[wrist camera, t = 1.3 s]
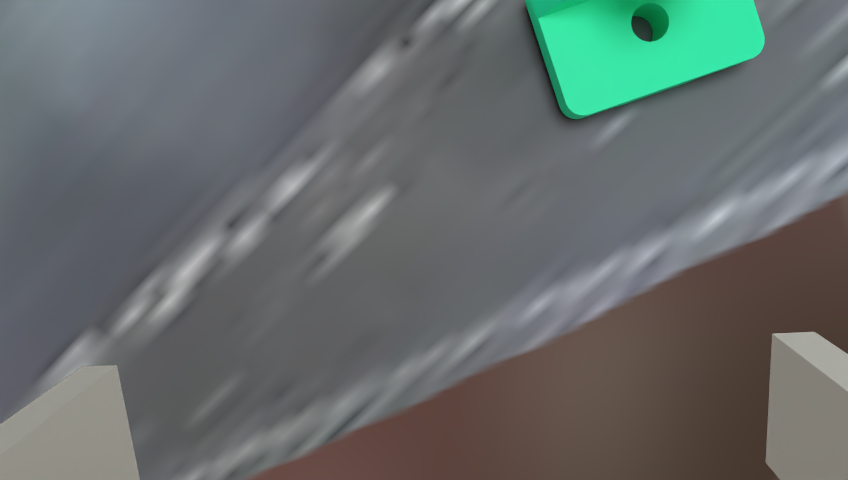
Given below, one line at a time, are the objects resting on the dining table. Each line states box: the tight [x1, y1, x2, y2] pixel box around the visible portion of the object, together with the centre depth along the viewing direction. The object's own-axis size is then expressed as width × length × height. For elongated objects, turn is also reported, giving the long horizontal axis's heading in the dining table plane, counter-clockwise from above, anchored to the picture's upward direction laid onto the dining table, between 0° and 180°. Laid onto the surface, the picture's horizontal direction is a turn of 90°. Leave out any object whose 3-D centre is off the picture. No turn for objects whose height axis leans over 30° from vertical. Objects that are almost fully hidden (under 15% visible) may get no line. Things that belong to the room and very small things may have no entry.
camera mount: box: [525, 0, 765, 119], centre depth 33 cm, size 12×8×10 cm, turn 109°
